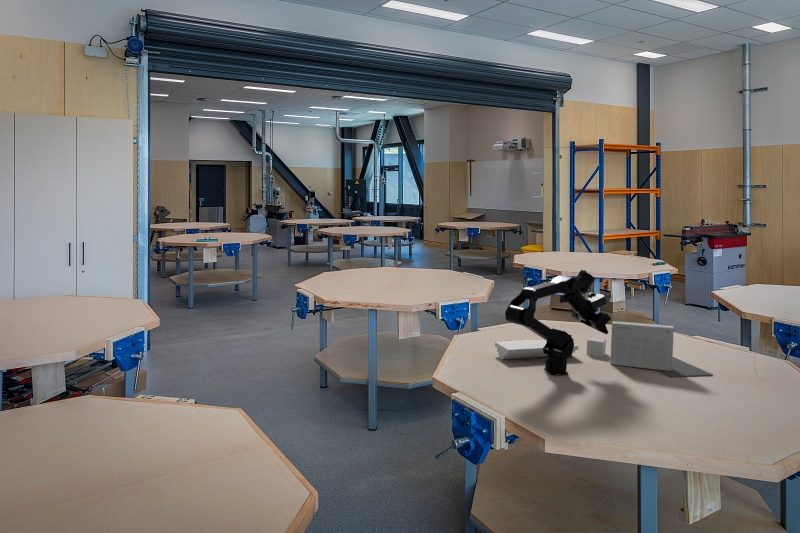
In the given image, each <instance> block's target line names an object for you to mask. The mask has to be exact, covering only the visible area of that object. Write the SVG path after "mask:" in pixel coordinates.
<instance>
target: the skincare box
mask: <svg viewBox="0 0 800 533" xmlns="http://www.w3.org/2000/svg"><path fill="white" fill-rule="evenodd" d="M674 330H675V329H674V325H666V324H665V325H664V324H654V323H652V324H651V323H642V322H640V323H639V322H629V321H627V322H626V321H615V320H613V321H612V323H611V340H610V365H613V366H621V367H622V366H623V367H630V368H640V369H650V370H655V369H657V370H666V371H672V357H674V356H673V354H674V352H673V351H674ZM657 370H656V371H657Z"/></svg>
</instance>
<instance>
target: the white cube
mask: <svg viewBox="0 0 800 533" xmlns="http://www.w3.org/2000/svg"><path fill="white" fill-rule="evenodd" d="M586 343H587V344H586V355H588V356H592V357H593V356H594V357H600V358H602V357H604V355H605V354H606V348H607V339H606V338H601V337H600V338H599V337H593V336H591V337H589V338H588V339H587V342H586Z"/></svg>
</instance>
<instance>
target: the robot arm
mask: <svg viewBox="0 0 800 533" xmlns="http://www.w3.org/2000/svg"><path fill="white" fill-rule="evenodd" d="M595 281H596V279H595V277H594V276H593V275H592V274H591V273H589V272H587V270H585V269H584V270H583V269H581V270H580V271H579V272H578V274H577V276H576V277H574V276H568V275H564V274H559V275H557V276H555V277H553V278H552V280H551V281H547V282H545V283H541V284H538V285H533V286H529V287H523V288H522V289H521V291H520V292H519V294H518V295H517V296H516V297H514V298H513V299H512V300H511V301H510V303H509V304H508V307H507V308H506V310H505V314H504V315H505V320H506V321H507V322H508V323H511V324H515V325H519V326H522V327H525V328H526V329H527V330H529V331H531V332H533V333H534V334H535V335H537V336H538V337H540V338H542V340H543V339H545V340H546V342H547V343H546V344H545V346H544V347H543V352H544V354H547V357H546V358H545V360H544V361H545V364H544V371H545V372H546V373H548V374H550V375H551V376H559V375H564V376H565V375H569V372H568V371H567V369H568V368H567V366H568V365H567V364H568V359H569V358H571V357H572V356H573V354H572V351H573V348H574V344H575V342H574V340H575V339H574V338H573V337H572V336H573V335H572V334H569V333H568V332H567V331H564V330H563V329H558V328H554V327H552V328H550V327H549V326H548V325H546V324H544V323H543V322H542V321H539V320H538V319H537V318H535V313H536V310H537V308H536V307H537V301H538V299H539V300H540V299H542V298H543V299H544V298H546V297H550V296H553V295H557V294H562V295H559V303H560V304H565V303H566V304H568V305H569V306H570V307H571V310H572V312H571V317H572V318H573V319H574V320H576V321H580V323H581V324H584V325H586V326H588V327H590V328H591V329H594V330H596V331H598V332H600V333H602V334H604V335H608V334H609V330H608V328H607V326H606V325H607V324H608V323H609V322H610V321H611V320H612V317H611V316H610V315H609V314H608V313H606V312H605V311H599V310H600V309H599V308H601V307H603V306H606V305H608V300H607V299H606V295H604V294H602V293H595V292H591V291H590V292H589V293H588V291H589V290H590V288H591V287H592V285H593V284H594V283H595ZM587 293H588V294H587ZM583 294H587V298H585V296H584V295H583ZM527 300H528V306H527V308H526V307H522V306H521V305H523V303H525V302H526V301H527ZM598 311H599V312H598ZM597 312H598V313H597ZM554 349H556V350H560V351H562V352H559V351H555V350H554Z"/></svg>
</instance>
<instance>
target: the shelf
mask: <svg viewBox="0 0 800 533" xmlns="http://www.w3.org/2000/svg"><path fill="white" fill-rule="evenodd" d="M546 343H547V342H546V340H545V339H543V338H542V339H528V340H524V339H523V340H509V341H508V340H507V341H494V346H495V347H496V352H497V353H498V357H499V359H501V360H515V359H527V358H543V357H546V358H547V354H544V352H543V347H544V346H545V344H546ZM554 350H555V351H559V352H562V351H560V350H556V349H554ZM578 350H579V345H577V344H575V343H574V348H573V351H572V355H573V354H574V353H575V352H576V351H578Z"/></svg>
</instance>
